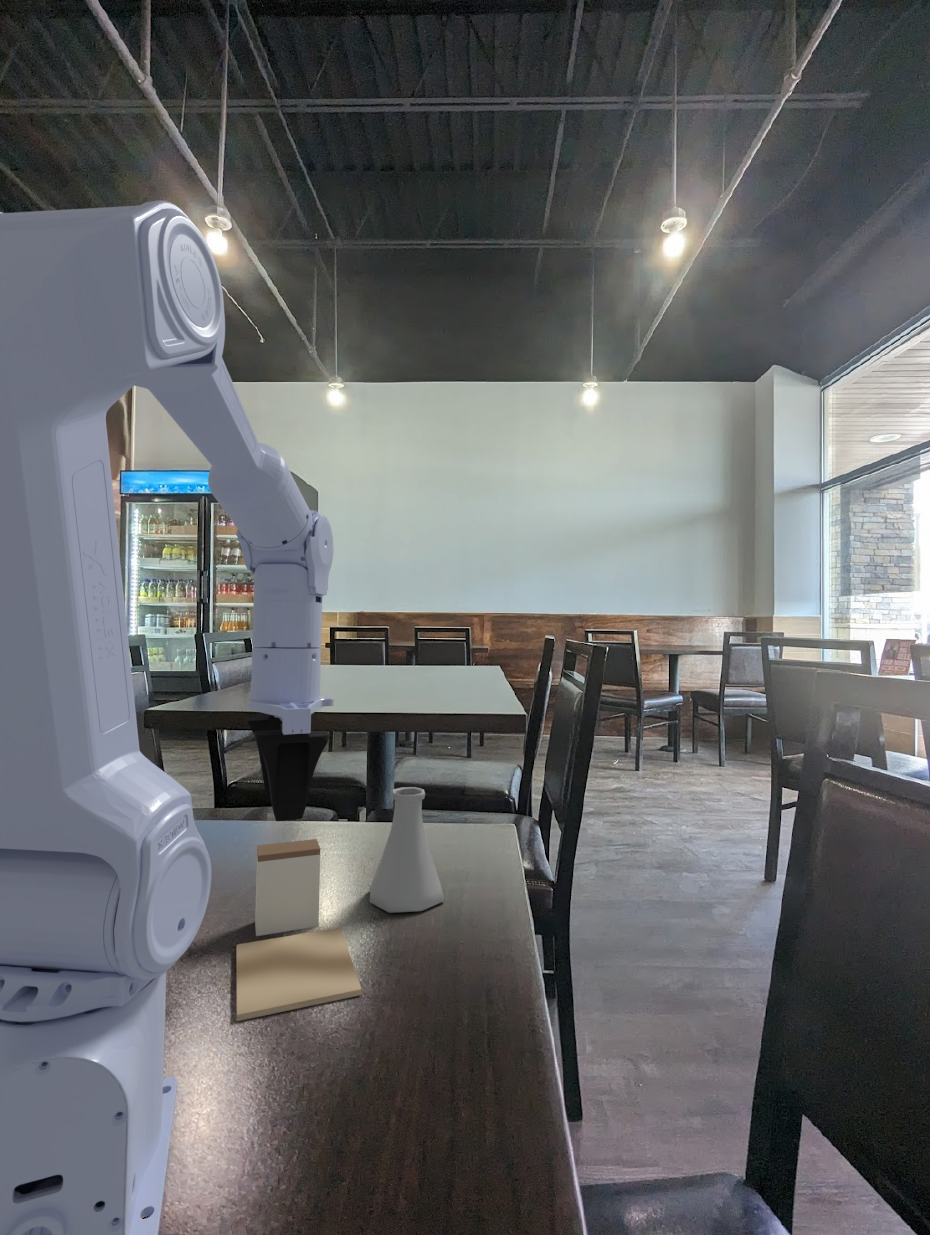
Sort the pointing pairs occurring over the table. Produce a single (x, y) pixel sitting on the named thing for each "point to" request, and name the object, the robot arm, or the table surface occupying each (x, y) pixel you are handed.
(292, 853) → the cream slab
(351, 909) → the table surface
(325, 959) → the cork mat
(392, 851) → the flask
